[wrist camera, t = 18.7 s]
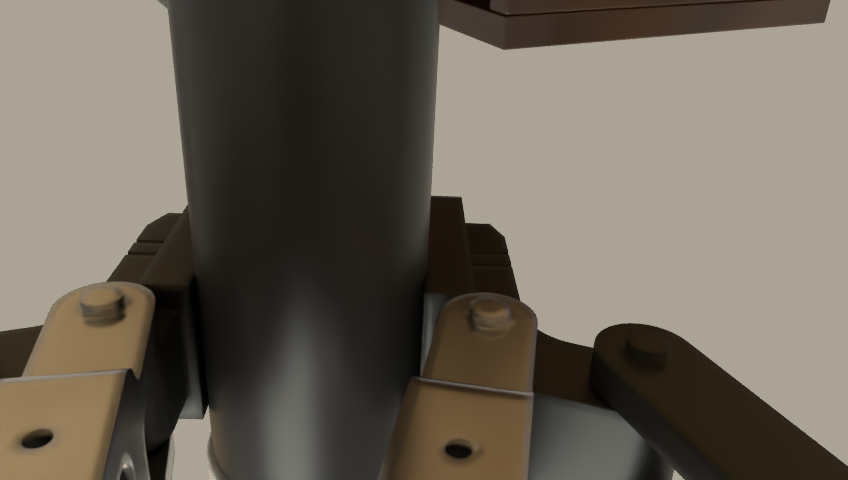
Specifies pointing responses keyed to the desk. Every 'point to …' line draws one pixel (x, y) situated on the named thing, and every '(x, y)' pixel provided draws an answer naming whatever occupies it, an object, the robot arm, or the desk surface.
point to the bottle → (307, 222)
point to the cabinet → (616, 18)
